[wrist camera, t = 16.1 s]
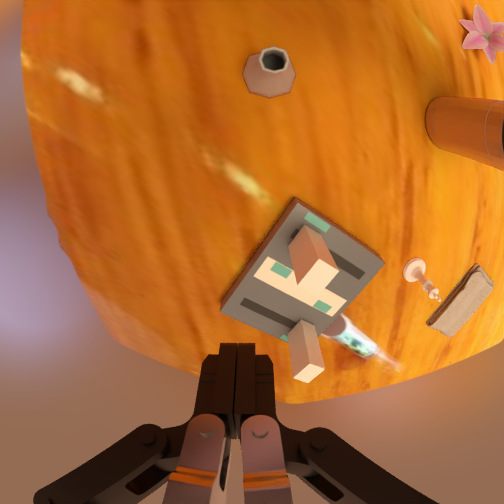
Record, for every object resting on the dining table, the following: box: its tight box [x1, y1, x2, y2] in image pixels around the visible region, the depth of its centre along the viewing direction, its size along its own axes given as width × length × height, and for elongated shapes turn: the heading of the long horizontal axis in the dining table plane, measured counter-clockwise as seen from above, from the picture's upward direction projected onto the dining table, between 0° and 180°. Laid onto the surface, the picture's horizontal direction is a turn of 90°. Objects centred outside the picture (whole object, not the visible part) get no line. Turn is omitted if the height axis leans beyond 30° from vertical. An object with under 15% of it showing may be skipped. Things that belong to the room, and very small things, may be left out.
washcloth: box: [427, 264, 494, 337], centre depth 49 cm, size 12×18×3 cm, turn 151°
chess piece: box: [403, 258, 441, 302], centre depth 41 cm, size 5×5×10 cm
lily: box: [459, 4, 504, 65], centre depth 21 cm, size 11×11×9 cm
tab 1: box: [288, 224, 339, 296], centre depth 35 cm, size 3×4×10 cm
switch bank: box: [220, 197, 385, 343], centre depth 45 cm, size 18×22×3 cm
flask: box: [242, 46, 296, 98], centre depth 28 cm, size 7×7×10 cm
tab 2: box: [288, 319, 325, 383], centre depth 43 cm, size 3×4×10 cm
